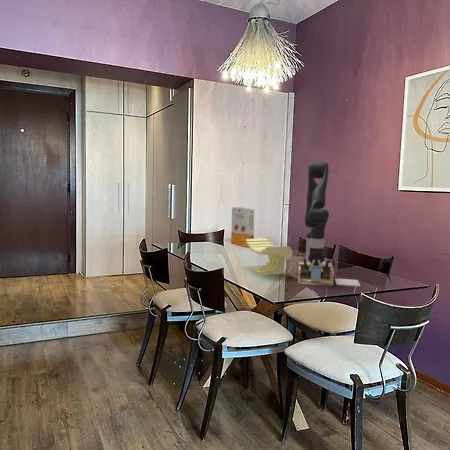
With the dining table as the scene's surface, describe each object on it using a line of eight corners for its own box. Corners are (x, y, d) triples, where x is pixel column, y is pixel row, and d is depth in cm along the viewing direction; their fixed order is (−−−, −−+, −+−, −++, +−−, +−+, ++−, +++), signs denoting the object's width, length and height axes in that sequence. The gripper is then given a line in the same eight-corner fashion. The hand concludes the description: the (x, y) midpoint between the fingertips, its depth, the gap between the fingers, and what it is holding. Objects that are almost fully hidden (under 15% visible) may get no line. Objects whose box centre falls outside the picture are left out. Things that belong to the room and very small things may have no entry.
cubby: (298, 275, 241) (298, 261, 240) (330, 277, 238) (331, 263, 237) (298, 283, 223) (298, 268, 222) (333, 286, 220) (333, 270, 219)
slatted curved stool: (291, 277, 237) (292, 246, 235) (265, 279, 232) (266, 247, 229) (268, 266, 265) (269, 238, 263) (245, 267, 260) (245, 238, 258)
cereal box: (253, 247, 332) (254, 209, 328) (246, 248, 329) (247, 209, 325) (237, 243, 351) (238, 207, 347) (231, 243, 348) (232, 207, 344)
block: (310, 277, 228) (311, 266, 228) (319, 278, 228) (320, 267, 227) (310, 279, 224) (311, 268, 223) (320, 280, 223) (320, 269, 222)
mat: (334, 279, 234) (334, 278, 234) (357, 280, 232) (357, 279, 232) (336, 285, 222) (336, 283, 222) (360, 286, 220) (360, 285, 220)
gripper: (330, 246, 226) (328, 277, 228) (303, 244, 228) (301, 275, 230) (331, 248, 219) (329, 280, 221) (303, 247, 221) (301, 278, 223)
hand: (315, 277), depth 226 cm, fingers closed on block, 5 cm apart
